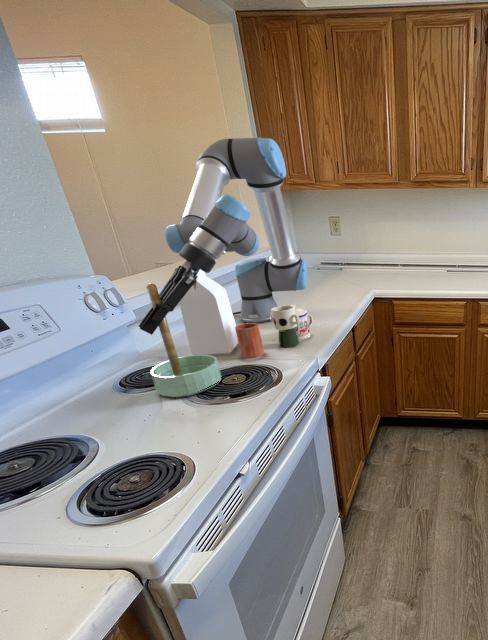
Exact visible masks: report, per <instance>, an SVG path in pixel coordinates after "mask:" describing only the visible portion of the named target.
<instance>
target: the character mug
mask: <svg viewBox="0 0 488 640" xmlns="http://www.w3.org/2000/svg"><path fill="white" fill-rule="evenodd" d="M290 305H291V304H290ZM290 305H277V306H278V307H274V308H272V309H271V313H270V316H271V321H270V322H272V325H273V327H274V328H275V329H276V330H277V331H278V346H279V348H284V349H291V348H294V347H297V346H298V345H300V340H298V337H297V334H296V331H295V329H294V327H296V326H297V325H299V317H298V315H296V313H295V308H294V306H290Z"/></svg>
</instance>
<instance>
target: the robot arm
mask: <svg viewBox="0 0 488 640" xmlns="http://www.w3.org/2000/svg"><path fill="white" fill-rule="evenodd" d="M195 173H196V177H195V179H194V182H193V185H192V188H191V191H190V194H189V196H188V199H187V203H186V205H185V207H184V212H183V214H182V217H181V219H180V222H179V224H177V223H174V224H169V225H167V226H166V228H165V231H164V237H165V241H166V244H167V245H168V247H169V249H170V250H171V251H172V252H173V253H175V254H178V255H179V256H180V257H181V258H182V259H184V260H185V262H184V263H183V264H182V265H181V264H179V265H178V266H177V267H176V268H175V269H174V271H173V273H172V274H171V276H170V278H169V279H168V280H167V282H166V284H165V285H164V286H163V288H162V289H161V290H160V292H159V297H160V300H161V302H160V304H157V303H155V306H156V307H155V308H154V309H153V307H151V308H150V309H149V311H148V312H147V313H146V315H145V316H144V317H143V319H142V320H141V322H140V323H139V324H138V328H139V329H140V331H141V330H142V331H143V332H145V333H147V334H149V335H151V336H152V335H153V334H154V332H155V331H156V330H157V329H158V328H159V324H160V323H161V322H162V320H163V319H164V318H165V316H166V317H167V315H168V314H169V313H170V312H173V311H174V310H175V309H176V307H177V306H178V305H179V302H180V301H181V299H182V298H183V297H184V295H185V294H186V293H187V292H188V290H189V289H190V288H191V287H192V286H193V285H194V284H195V283H196V282H197V280H196V279H197V277H198V276H196V275H197V273H198V272H199V270H200V269H201V270H202V271H204V272H205V274H210V272H212V269H213V268H214V266H216V265H217V263H216V260H219V259H220V258H221V257H222V255H224V256H225V255H226V254H227V253H233V252H235V253H236V254H238V255H240V256H243V257H250V256H253V255H254V254H256V253H257V252H258V250H259V248H260V239H259V236H258V235H257V233H256V231H255V230H254V229H253V228H251V226H250V225H249V224H248V221H249V219H250V217H251V214H252V213H251V210H250V209H249V208H248V207H247V206H246V205H245V204H244V203H243V202H242V201H240V200H239V199H238V198H236V197H235V196H233V195H231V194H228V193H224V194H223V191H224V188H225V187H226V186H227V185H228V184H229V183H230V181H232V180H245V182H246V184H247V187H248V188H250V189H251V190H253V192H254V196H255V199H256V203H257V207H258V210H259V213H260V217H261V220H262V224H263V228H264V232H265V237H266V239H267V243H268V246H269V250H270V253H271V255H270V256H269V258H268V261H267V259H266V257H254V258H250V259H246V260H243V261H239V262H237V263H236V264H235V266H234V270H235V271H234V272H235V277H236V281H237V285H238V289H239V295H240V298H241V308H240V311H235V312H232V313H233V316H234V315H240V320H241V322H243V323H257V324H258V323H268V322H272V321H271V316H270V313H271V309H272V308H274V307H278V306H279V305H278V304H277V302H276V300H275V298H274V295H273V292H274V293H275V292H276V293H277V292H292V291H293V292H296V291H304V290H305V289H306V288H307V286H308V262H307V260H306V259H304V258H303V259H302V258H301V255H300V253H299V252H297V251H296V250H295V246H294V242H293V237H292V233H291V228H290V224H289V220H288V216H287V212H286V211H287V210H286V207H285V203H284V199H283V193H282V189H281V187H282V185H283V184H284V179H285V178H286V176H287V168H286V162H285V159H284V156H283V153H282V151H281V148H280V146H279V145H278V143H277V142H276V141H275V140H274V139H273V138H268V137H243V138H241V137H240V138H239V137H238V138H222V139H219V140H217V141H215V142H212V144H210V145H209V146H207V148H205V149H204V150H203V151H202V152H201V153H200V155H199V157H198V159H197V161H196V163H195Z"/></svg>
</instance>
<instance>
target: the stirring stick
mask: <svg viewBox="0 0 488 640" xmlns="http://www.w3.org/2000/svg"><path fill="white" fill-rule="evenodd" d="M146 291H147V294H148V297H149V300H150V303H151V306H152V307H153V309H154V308H155V307H156V306H155V303H157V304H160V302H161V300H160V297H159V294H160V292H159V291H158V287H157V285H156V284H155V283H152V282H150V283H148V284H146ZM152 307H151V308H152ZM158 329H159V331H160V335H161V338H162V342H163V345H164V348H165V351H166V355H167V358H168V360H169V361H170V364H171V367H172V370H173V374H174V375H175V376H179V375H182V369H181V366H180V363H179V359H178V358H179V356H178V353H177V350H176V346H175V343H174V339H173V336H172V333H171V330H170V327H169V323H168V320H167V315H166V316H165V318H164V319H163V320H162V322H161V323H160V324H159V326H158Z"/></svg>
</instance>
